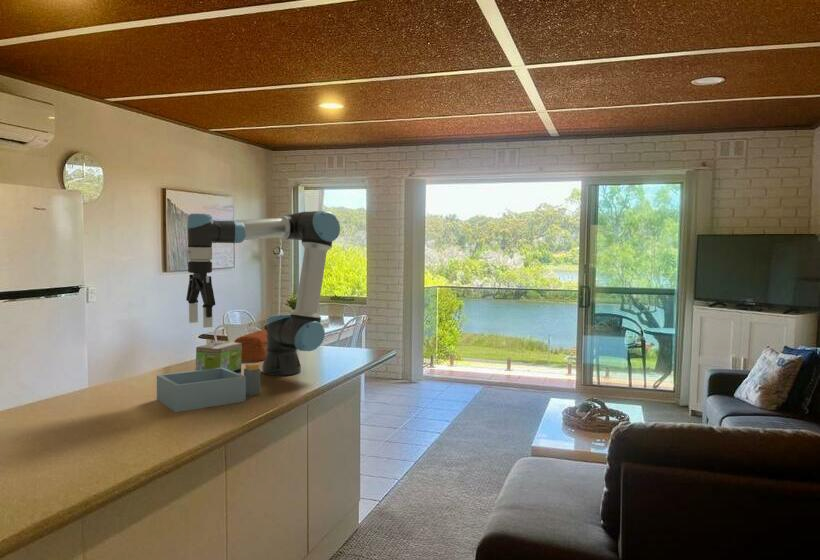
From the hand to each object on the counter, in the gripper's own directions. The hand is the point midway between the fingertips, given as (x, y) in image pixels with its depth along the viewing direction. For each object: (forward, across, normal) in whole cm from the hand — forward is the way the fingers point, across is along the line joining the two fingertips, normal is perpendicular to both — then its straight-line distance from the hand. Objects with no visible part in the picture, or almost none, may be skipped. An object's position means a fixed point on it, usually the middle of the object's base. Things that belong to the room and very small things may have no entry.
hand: (200, 324), depth 196 cm
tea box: (+24, -11, +10) cm, 28 cm away
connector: (+24, +8, +15) cm, 29 cm away
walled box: (+24, +7, -2) cm, 25 cm away
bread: (+25, -57, +46) cm, 77 cm away
